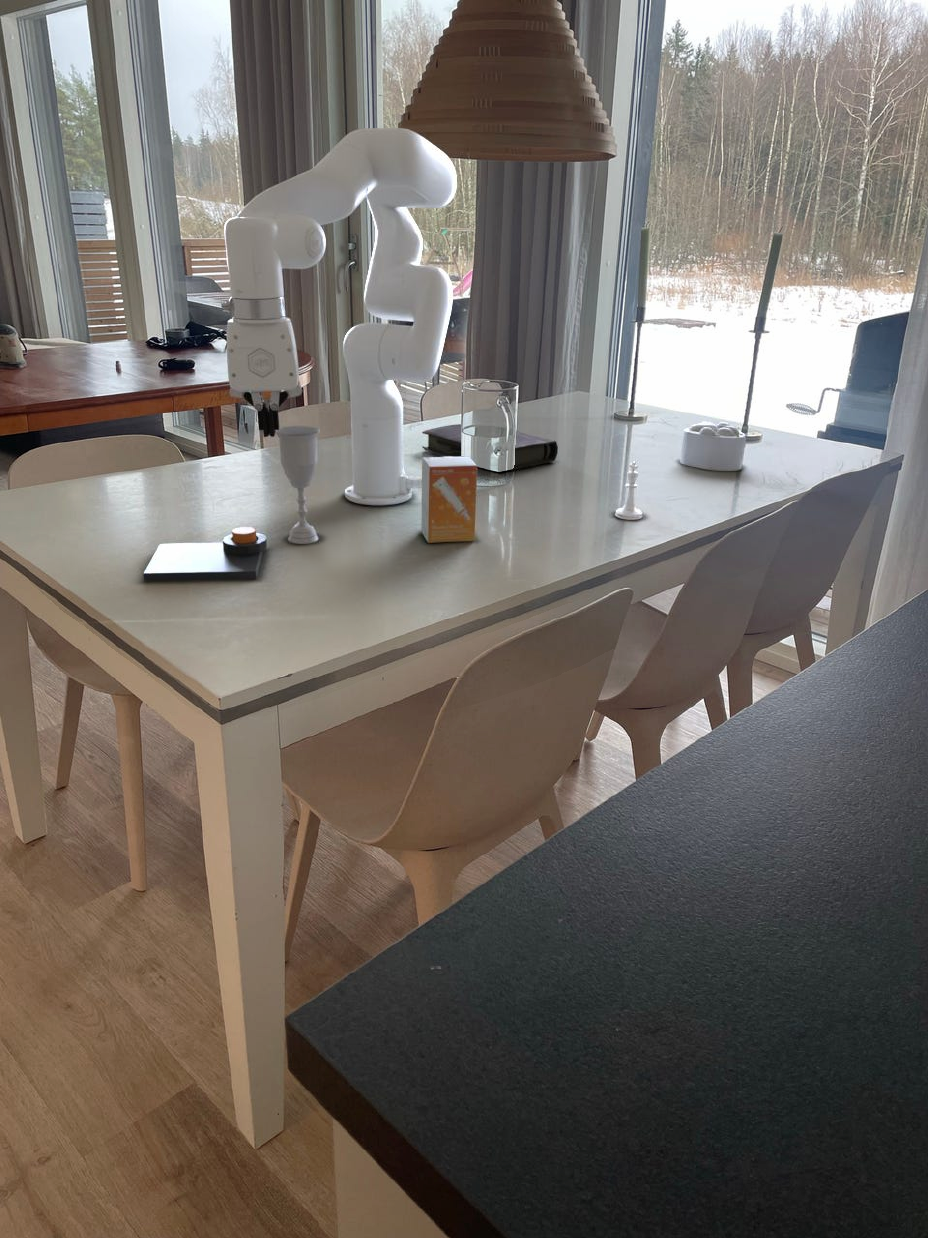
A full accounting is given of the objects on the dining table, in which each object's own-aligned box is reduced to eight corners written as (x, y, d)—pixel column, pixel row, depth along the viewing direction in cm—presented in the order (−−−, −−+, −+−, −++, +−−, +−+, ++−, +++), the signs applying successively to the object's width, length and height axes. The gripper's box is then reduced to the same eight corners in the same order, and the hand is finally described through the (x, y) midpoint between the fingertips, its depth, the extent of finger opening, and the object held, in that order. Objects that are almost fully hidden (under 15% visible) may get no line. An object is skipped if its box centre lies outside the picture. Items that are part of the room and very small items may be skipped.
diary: (480, 440, 221) (480, 419, 219) (557, 461, 204) (558, 438, 202) (419, 452, 209) (419, 429, 207) (496, 475, 192) (496, 451, 190)
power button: (257, 537, 146) (256, 526, 145) (255, 544, 143) (254, 533, 142) (234, 537, 146) (233, 526, 145) (231, 545, 142) (230, 534, 142)
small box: (427, 544, 152) (428, 466, 147) (420, 532, 158) (421, 456, 153) (475, 541, 154) (478, 464, 149) (467, 529, 160) (469, 454, 155)
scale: (268, 549, 149) (267, 531, 147) (261, 579, 137) (260, 560, 135) (161, 551, 147) (159, 533, 146) (144, 582, 135) (141, 563, 134)
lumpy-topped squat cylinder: (697, 454, 212) (702, 416, 209) (750, 465, 204) (756, 426, 201) (674, 462, 205) (679, 423, 202) (728, 474, 197) (734, 433, 194)
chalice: (315, 548, 150) (310, 437, 142) (275, 544, 151) (268, 434, 144) (330, 533, 156) (326, 427, 149) (292, 530, 157) (285, 424, 150)
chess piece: (625, 521, 166) (631, 466, 162) (609, 513, 170) (614, 459, 166) (647, 517, 168) (653, 463, 164) (631, 510, 172) (636, 457, 168)
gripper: (202, 313, 130) (216, 442, 138) (309, 312, 132) (318, 439, 140) (209, 306, 137) (223, 429, 145) (312, 305, 139) (319, 427, 147)
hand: (269, 434), depth 142 cm, fingers closed
